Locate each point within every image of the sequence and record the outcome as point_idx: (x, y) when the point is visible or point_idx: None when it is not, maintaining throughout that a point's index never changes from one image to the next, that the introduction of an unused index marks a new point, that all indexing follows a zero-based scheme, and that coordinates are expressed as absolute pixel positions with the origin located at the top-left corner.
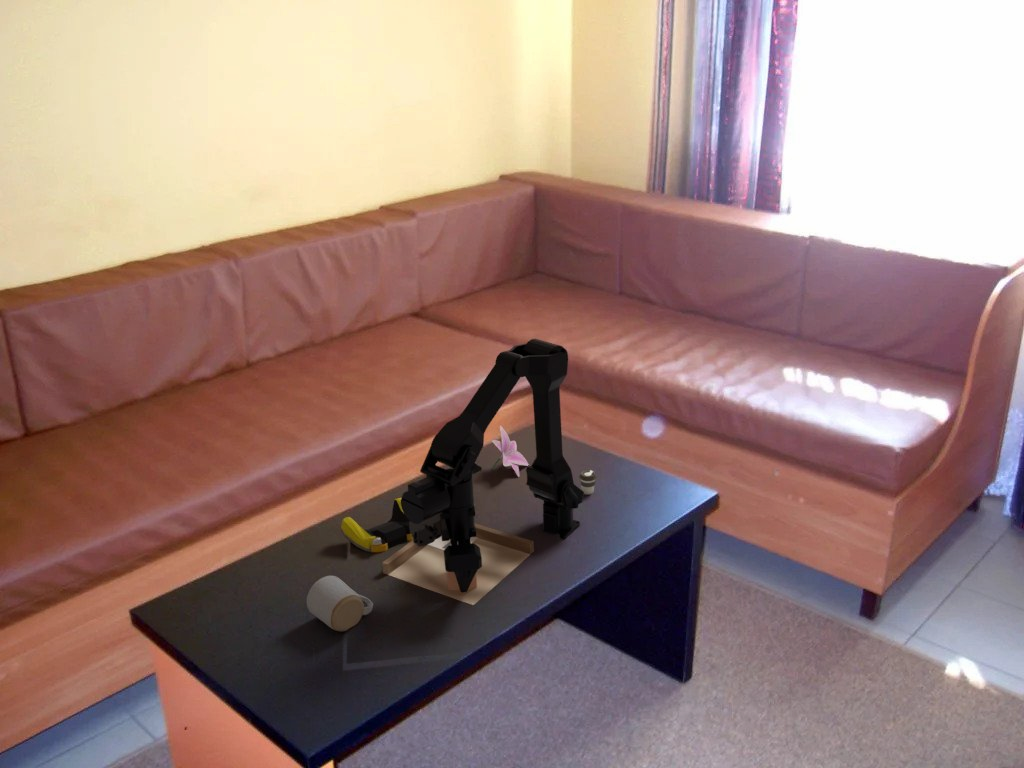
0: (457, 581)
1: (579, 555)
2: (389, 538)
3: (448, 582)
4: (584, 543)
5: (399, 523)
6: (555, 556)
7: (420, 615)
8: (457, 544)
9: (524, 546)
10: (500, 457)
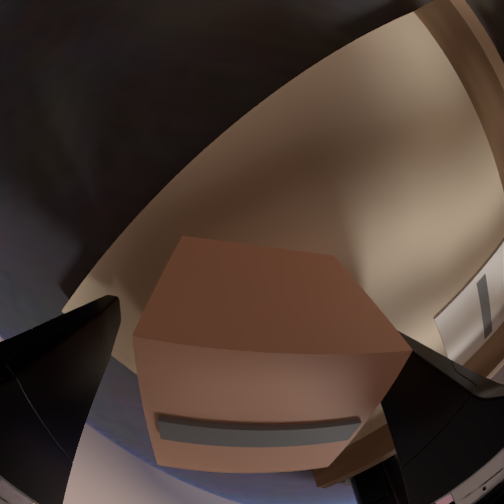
0: (41, 324)
1: (273, 490)
2: None
3: (171, 256)
4: (306, 491)
5: None
6: (290, 475)
7: (69, 79)
8: (424, 403)
9: (330, 470)
10: None
